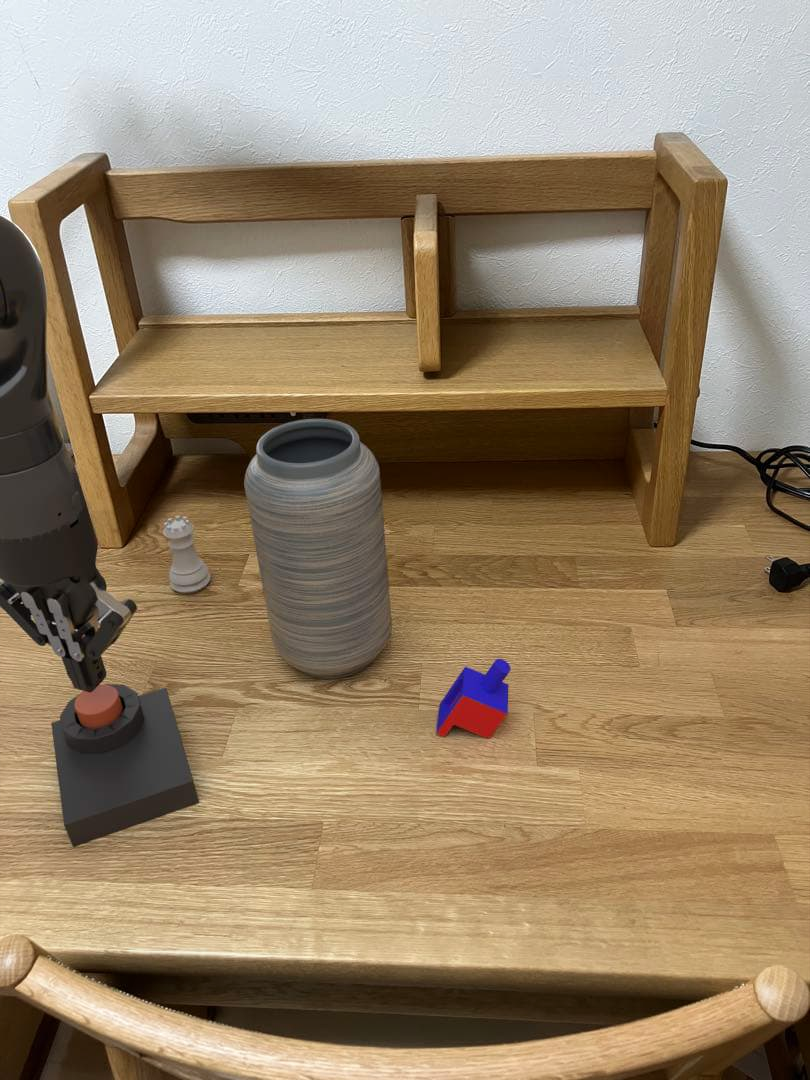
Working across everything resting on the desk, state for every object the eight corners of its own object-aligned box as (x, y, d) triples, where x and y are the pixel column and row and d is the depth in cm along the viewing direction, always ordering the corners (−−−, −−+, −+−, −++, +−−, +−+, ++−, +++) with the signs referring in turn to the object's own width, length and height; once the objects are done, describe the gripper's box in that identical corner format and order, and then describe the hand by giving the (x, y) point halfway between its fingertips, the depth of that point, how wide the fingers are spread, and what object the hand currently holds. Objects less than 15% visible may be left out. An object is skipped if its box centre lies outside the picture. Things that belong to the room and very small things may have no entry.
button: (77, 707, 77) (72, 692, 76) (119, 694, 78) (114, 679, 77) (81, 734, 74) (76, 719, 73) (125, 721, 75) (120, 705, 74)
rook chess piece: (219, 583, 98) (205, 522, 94) (182, 601, 96) (167, 539, 91) (199, 566, 101) (185, 506, 97) (163, 583, 99) (147, 522, 94)
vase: (332, 598, 95) (307, 399, 82) (418, 641, 88) (405, 431, 75) (250, 657, 87) (209, 449, 75) (336, 708, 81) (307, 490, 68)
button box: (58, 738, 80) (44, 701, 77) (170, 703, 83) (160, 667, 80) (73, 847, 70) (57, 809, 67) (199, 803, 73) (188, 765, 70)
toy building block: (479, 751, 78) (523, 692, 73) (435, 733, 77) (477, 673, 73) (481, 721, 81) (523, 663, 76) (439, 704, 80) (479, 644, 76)
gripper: (-78, 519, 64) (-3, 696, 74) (69, 550, 60) (128, 734, 69) (-3, 469, 70) (58, 640, 80) (136, 494, 65) (183, 672, 75)
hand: (90, 684), depth 74 cm, fingers closed
